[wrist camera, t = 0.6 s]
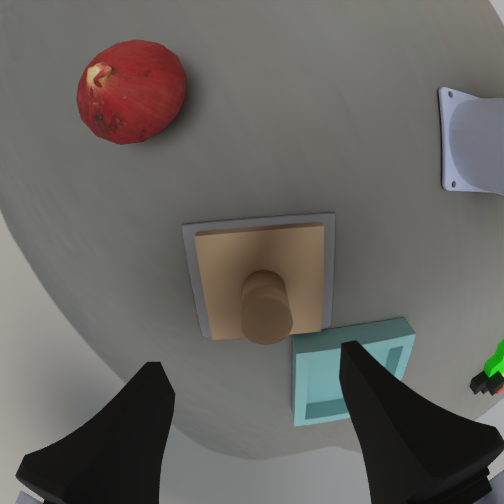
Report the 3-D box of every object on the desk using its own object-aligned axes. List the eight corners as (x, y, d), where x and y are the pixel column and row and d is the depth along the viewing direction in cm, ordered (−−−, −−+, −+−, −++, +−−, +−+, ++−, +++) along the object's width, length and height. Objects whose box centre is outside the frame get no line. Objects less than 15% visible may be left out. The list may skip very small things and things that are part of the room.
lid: (320, 221, 18) (344, 248, 13) (318, 323, 21) (333, 368, 16) (197, 231, 18) (179, 261, 13) (214, 331, 21) (206, 378, 16)
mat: (333, 211, 18) (334, 213, 18) (329, 324, 21) (330, 327, 21) (182, 224, 18) (181, 225, 18) (203, 334, 22) (202, 337, 21)
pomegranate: (175, 155, 17) (121, 164, 9) (103, 129, 16) (25, 130, 8) (212, 73, 15) (184, 24, 7) (135, 53, 14) (74, 11, 6)
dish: (403, 317, 21) (416, 333, 19) (382, 391, 25) (389, 408, 23) (292, 333, 22) (296, 353, 19) (291, 407, 25) (294, 426, 23)
